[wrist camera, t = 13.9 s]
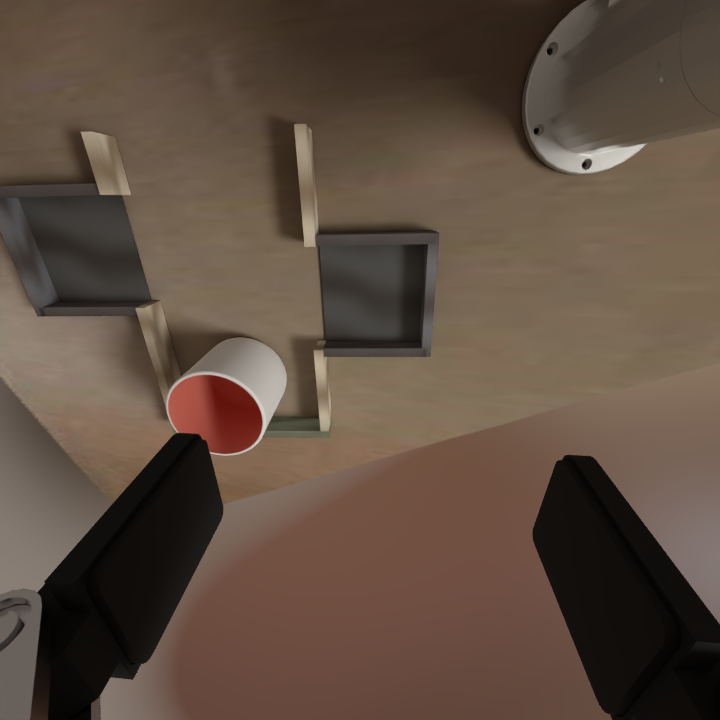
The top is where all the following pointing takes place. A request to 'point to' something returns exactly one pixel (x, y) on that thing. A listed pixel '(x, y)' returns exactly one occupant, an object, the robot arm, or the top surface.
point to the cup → (228, 395)
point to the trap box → (132, 298)
